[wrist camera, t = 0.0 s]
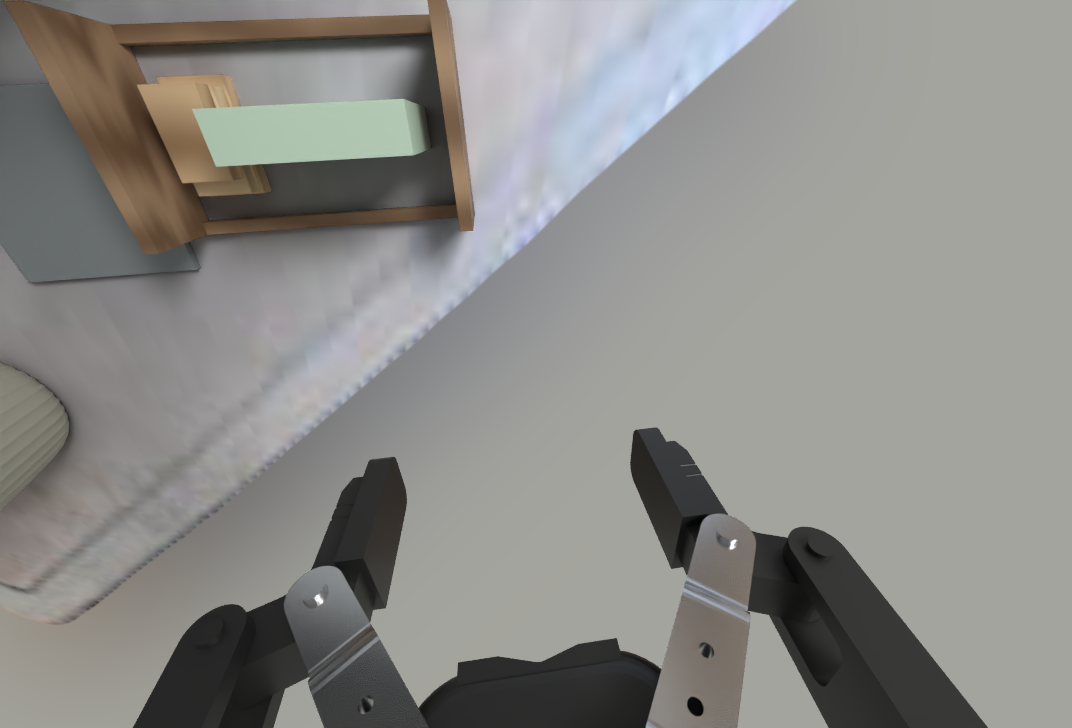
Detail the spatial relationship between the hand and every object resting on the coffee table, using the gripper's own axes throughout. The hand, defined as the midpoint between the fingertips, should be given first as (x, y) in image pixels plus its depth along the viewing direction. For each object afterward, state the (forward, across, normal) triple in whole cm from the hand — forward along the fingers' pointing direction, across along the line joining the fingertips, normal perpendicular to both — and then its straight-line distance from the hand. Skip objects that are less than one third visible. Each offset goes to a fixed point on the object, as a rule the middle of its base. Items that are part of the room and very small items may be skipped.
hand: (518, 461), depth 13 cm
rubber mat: (+29, +34, -7) cm, 46 cm away
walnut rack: (+29, +14, -10) cm, 34 cm away
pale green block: (+29, +11, -10) cm, 33 cm away
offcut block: (+30, +21, -10) cm, 37 cm away
